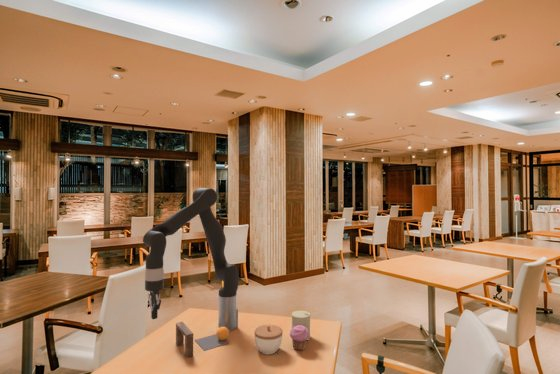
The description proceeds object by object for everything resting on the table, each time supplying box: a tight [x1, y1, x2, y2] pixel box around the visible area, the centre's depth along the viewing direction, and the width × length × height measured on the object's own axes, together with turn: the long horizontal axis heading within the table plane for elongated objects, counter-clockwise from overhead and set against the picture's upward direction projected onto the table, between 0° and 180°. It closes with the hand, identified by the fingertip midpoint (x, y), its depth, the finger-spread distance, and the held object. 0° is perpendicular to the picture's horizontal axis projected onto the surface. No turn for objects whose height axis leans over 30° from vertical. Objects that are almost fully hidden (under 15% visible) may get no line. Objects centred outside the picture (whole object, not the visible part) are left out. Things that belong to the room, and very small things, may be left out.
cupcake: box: [289, 325, 309, 351], centre depth 148 cm, size 9×9×10 cm
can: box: [291, 310, 311, 340], centre depth 159 cm, size 9×9×12 cm
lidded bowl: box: [254, 324, 284, 355], centre depth 146 cm, size 13×13×11 cm
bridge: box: [175, 321, 194, 359], centre depth 146 cm, size 3×15×10 cm, turn 35°
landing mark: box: [194, 334, 229, 351], centre depth 154 cm, size 12×12×1 cm
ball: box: [216, 327, 230, 340], centre depth 156 cm, size 6×6×6 cm
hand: (154, 318), depth 139 cm, fingers closed
